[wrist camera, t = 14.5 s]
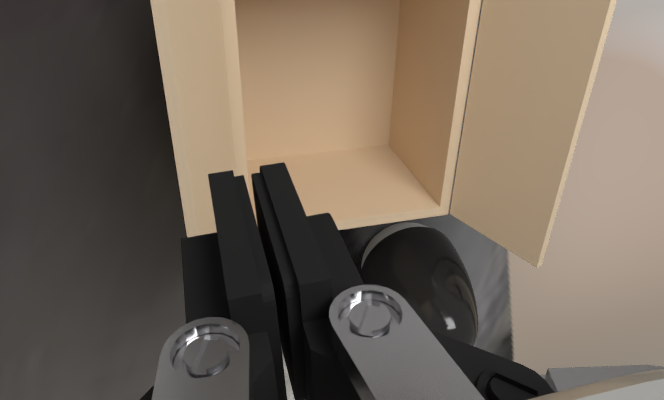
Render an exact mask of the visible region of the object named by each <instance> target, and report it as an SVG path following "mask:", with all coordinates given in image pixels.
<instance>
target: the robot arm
mask: <svg viewBox="0 0 664 400" xmlns="http://www.w3.org/2000/svg"><path fill="white" fill-rule="evenodd" d="M251 178H252V186H253V194H254V202H255V210H256V218H257V223H256V219H255V215H254V212H253V208H252V204H251V200H250V197H249V193H248V189H247V185H246V182H245V178H244V175H241V176H234V173H233V170H230V171H224V172H217V173H211V174H208V179H209V185H210V191H211V198H212V204H213V211H214V217H215V223H216V230H217V232H215V233H210V234H204V235H198V236H193V237H187V238H182V239H181V248H182V264H183V280H184V297H185V313H186V324H185V325H183V326H182V327H180V328H179V329H178V330H176V331H175V332H174V333H172V334H171V336H170V337H169V338H168V339H167V341H166V342H165V343H164V346H163V348H162V351H161V353H160V358H159V363H158V369H157V374H156V379H155V385H154V386H153V387H152V388H151V389H150V390H149V391H148V392H147V393H146V394H145V395H144V396H143V397H142V398H141V399H140V400H287V395H286V386H285V377H284V369H283V360H282V351H281V346H282V350H283V354H284V358H285V362H286V366H287V370H288V374H289V378H290V382H291V386H292V390H293V394H294V398H295V400H664V367H661V366H651V365H632V366H631V365H630V366H603V367H575V368H548V370H547V373H546V375H539V374H537V373H536V372H535V371H533V370H531V369H529V368H527V367H525V366H523V365H521V364H519V363H516V362H513V361H511V360H508V359H505V358H503V357H500V356H497V355H495V354H492V353H490V352H487V351H484V350H482V349H479V348H476V347H474V346H471V345H469V344H466V343H463V342H461V341H458V340H455V339H453V338H450V337H448V336H445V335H442V334H440V333H437V332H434V331H432V330H429V329H428V327H427V326H426V325H425V324H424V322H423V321H422V320H421V319H420V317H419V316H418V315H417V314H416V312H415V311H414V310H413V309H412V307H411V306H410V305H409V304H408V302H407V301H406V300H405V299H404V298H403V297H402V296H401V295H400V294H399V293H397V292H395V291H393V290H391V289H389V288H387V287H383V286H378V285H364V283H363V281H362V279H361V276H360V274H359V272H358V270H357V268H356V266H355V264H354V262H353V260H352V258H351V256H350V253H349V251H348V249H347V247H346V245H345V243H344V241H343V239H342V237H341V235H340V232H339V230H338V228H337V226H336V224H335V222H334V220H333V218H332V216H331V214H330V213H322V214H317V215H311V216H306V213H305V211H304V209H303V206H302V204H301V201H300V199H299V196H298V194H297V191H296V189H295V186H294V184H293V182H292V179H291V177H290V174H289V172H288V169H287V167H286V164H285V163H284V162H282V163H275V164H269V165H262V166H260V173H253V174H251ZM257 226H258V227H257Z"/></svg>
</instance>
